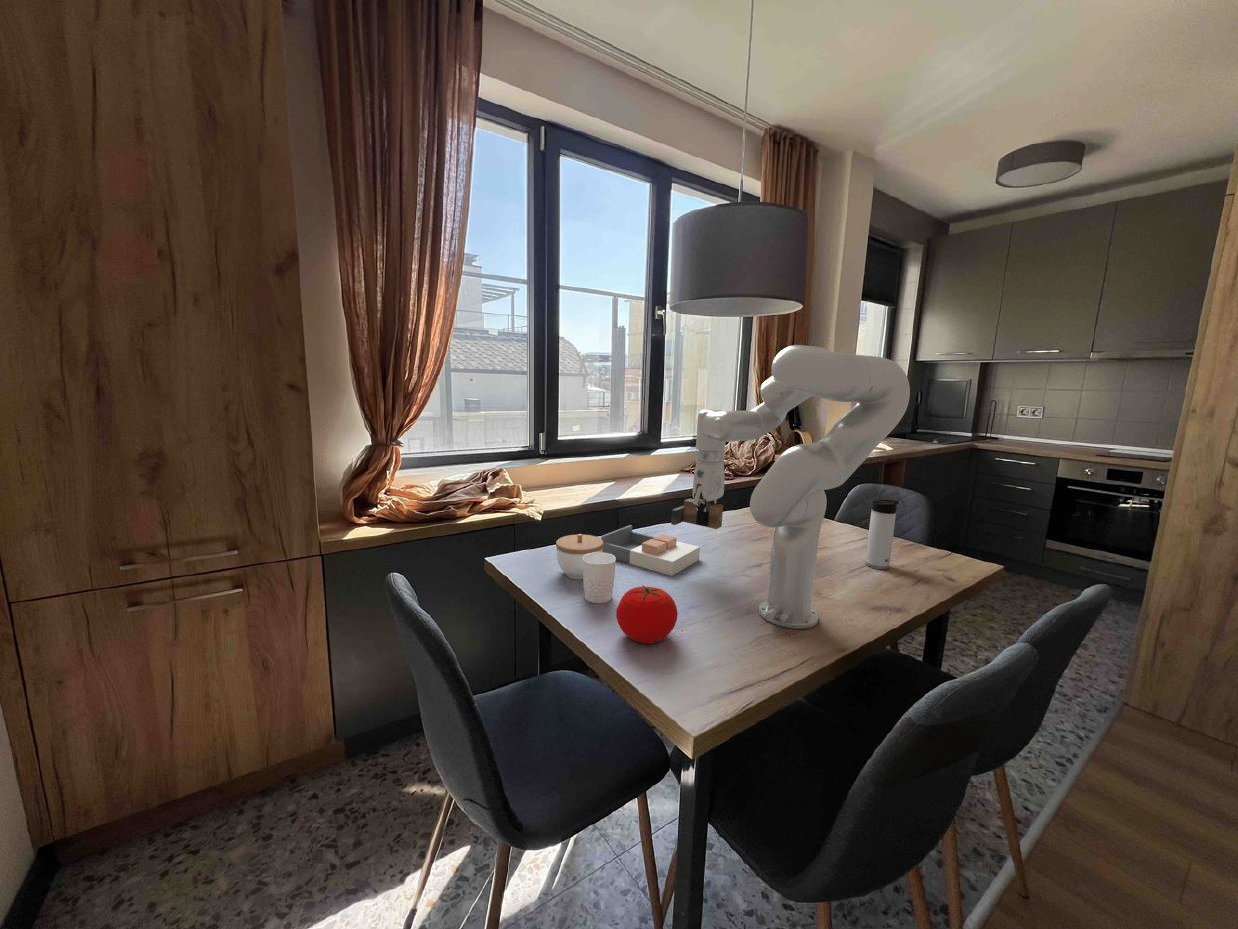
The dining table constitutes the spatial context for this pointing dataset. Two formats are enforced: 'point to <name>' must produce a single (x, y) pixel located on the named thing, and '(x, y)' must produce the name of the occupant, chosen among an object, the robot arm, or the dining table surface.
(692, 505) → the scraper
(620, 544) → the tray
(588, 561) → the white cup
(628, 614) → the tomato
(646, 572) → the dining table surface
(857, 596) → the dining table surface
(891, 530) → the travel mug
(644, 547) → the tile
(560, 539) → the lidded bowl
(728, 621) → the dining table surface
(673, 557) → the board
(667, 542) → the tile
